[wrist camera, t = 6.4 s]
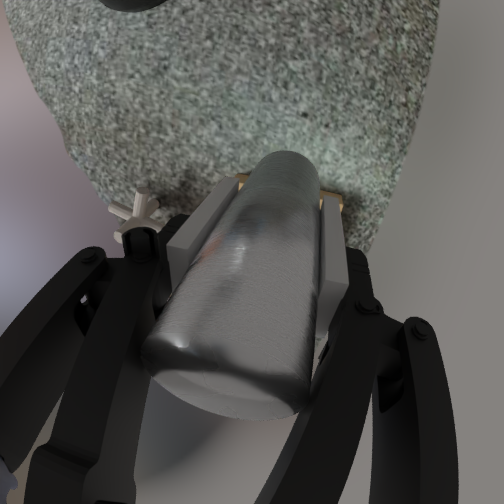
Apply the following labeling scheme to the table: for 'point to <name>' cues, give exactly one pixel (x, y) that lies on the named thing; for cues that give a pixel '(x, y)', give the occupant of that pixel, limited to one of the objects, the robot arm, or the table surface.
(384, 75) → the table surface
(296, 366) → the grey metal cylinder
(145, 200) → the pipe connector
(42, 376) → the robot arm
